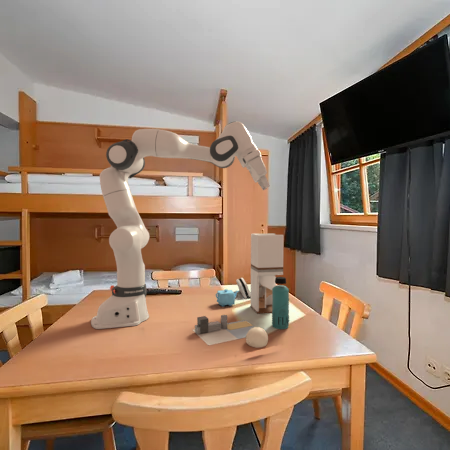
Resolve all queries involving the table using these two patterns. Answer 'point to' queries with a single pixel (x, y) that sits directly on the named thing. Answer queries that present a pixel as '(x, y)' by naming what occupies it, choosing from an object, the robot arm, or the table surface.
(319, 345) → the table surface
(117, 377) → the table surface
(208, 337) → the door board
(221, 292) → the teapot
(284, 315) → the beverage bottle
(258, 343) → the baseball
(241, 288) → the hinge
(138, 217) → the robot arm
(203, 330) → the latch bar
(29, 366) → the table surface
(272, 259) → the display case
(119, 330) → the table surface
